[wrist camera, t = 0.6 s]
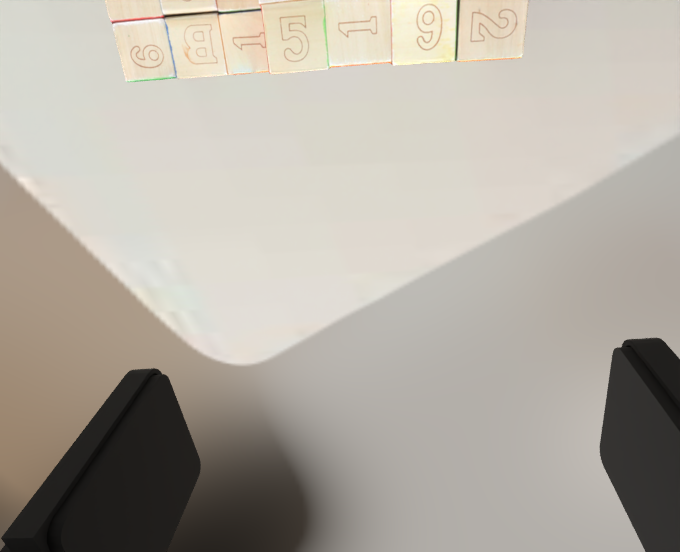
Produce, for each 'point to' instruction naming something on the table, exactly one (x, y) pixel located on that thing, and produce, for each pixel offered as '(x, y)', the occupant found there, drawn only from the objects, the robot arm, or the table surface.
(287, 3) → the stack of blocks
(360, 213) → the table surface
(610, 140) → the table surface
